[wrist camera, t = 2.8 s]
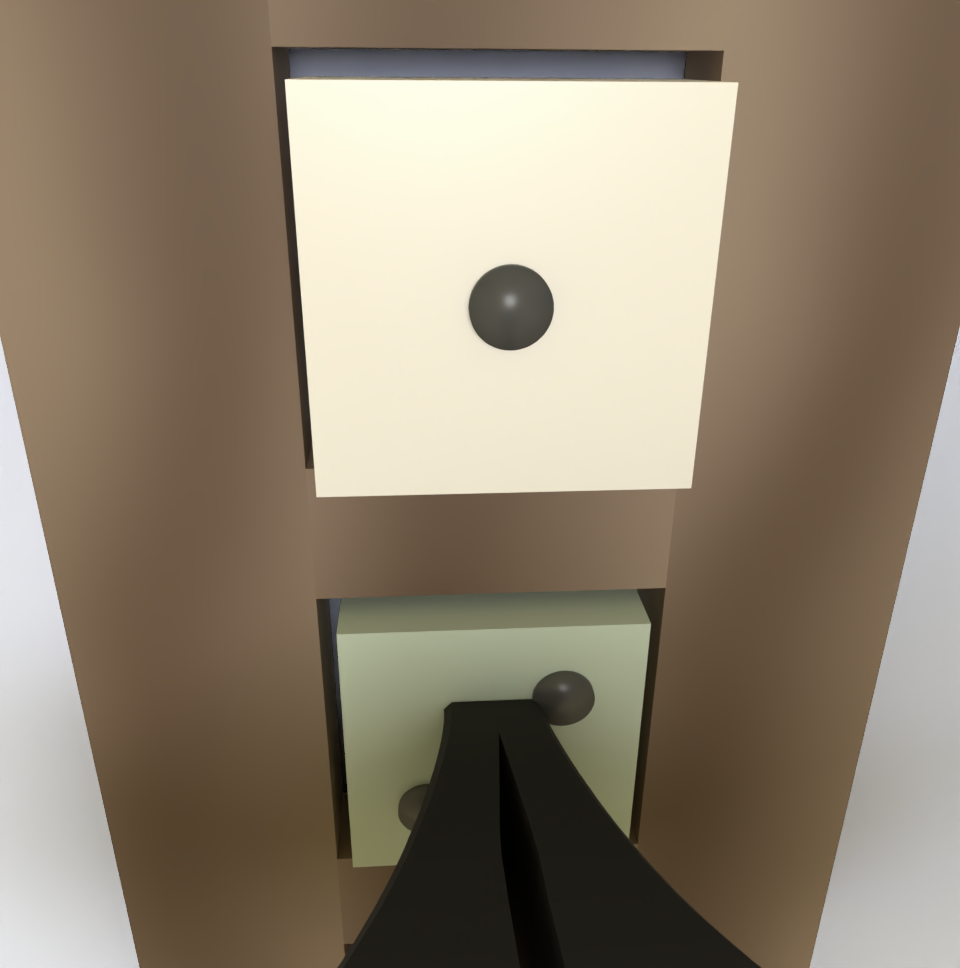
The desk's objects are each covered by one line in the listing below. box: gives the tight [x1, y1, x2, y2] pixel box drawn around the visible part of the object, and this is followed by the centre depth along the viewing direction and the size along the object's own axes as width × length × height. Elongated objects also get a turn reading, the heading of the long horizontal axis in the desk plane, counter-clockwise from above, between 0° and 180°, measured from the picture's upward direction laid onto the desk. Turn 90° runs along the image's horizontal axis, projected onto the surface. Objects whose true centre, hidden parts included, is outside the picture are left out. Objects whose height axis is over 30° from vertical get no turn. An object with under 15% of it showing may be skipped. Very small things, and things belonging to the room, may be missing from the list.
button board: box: [0, 0, 960, 968], centre depth 15 cm, size 12×24×2 cm, turn 0°
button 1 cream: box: [285, 76, 738, 497], centre depth 11 cm, size 4×4×2 cm
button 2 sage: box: [336, 589, 651, 867], centre depth 14 cm, size 4×4×2 cm
